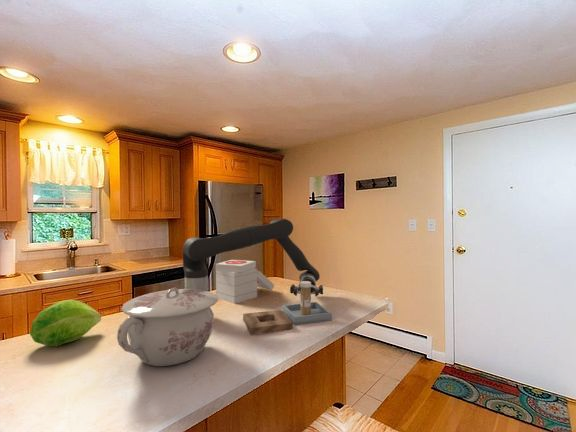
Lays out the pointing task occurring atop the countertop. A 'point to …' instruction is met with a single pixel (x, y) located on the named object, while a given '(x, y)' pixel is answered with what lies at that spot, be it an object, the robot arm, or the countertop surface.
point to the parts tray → (297, 318)
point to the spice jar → (305, 297)
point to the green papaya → (63, 322)
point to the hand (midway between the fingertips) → (305, 293)
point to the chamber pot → (167, 325)
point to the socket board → (260, 327)
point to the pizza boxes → (239, 280)
